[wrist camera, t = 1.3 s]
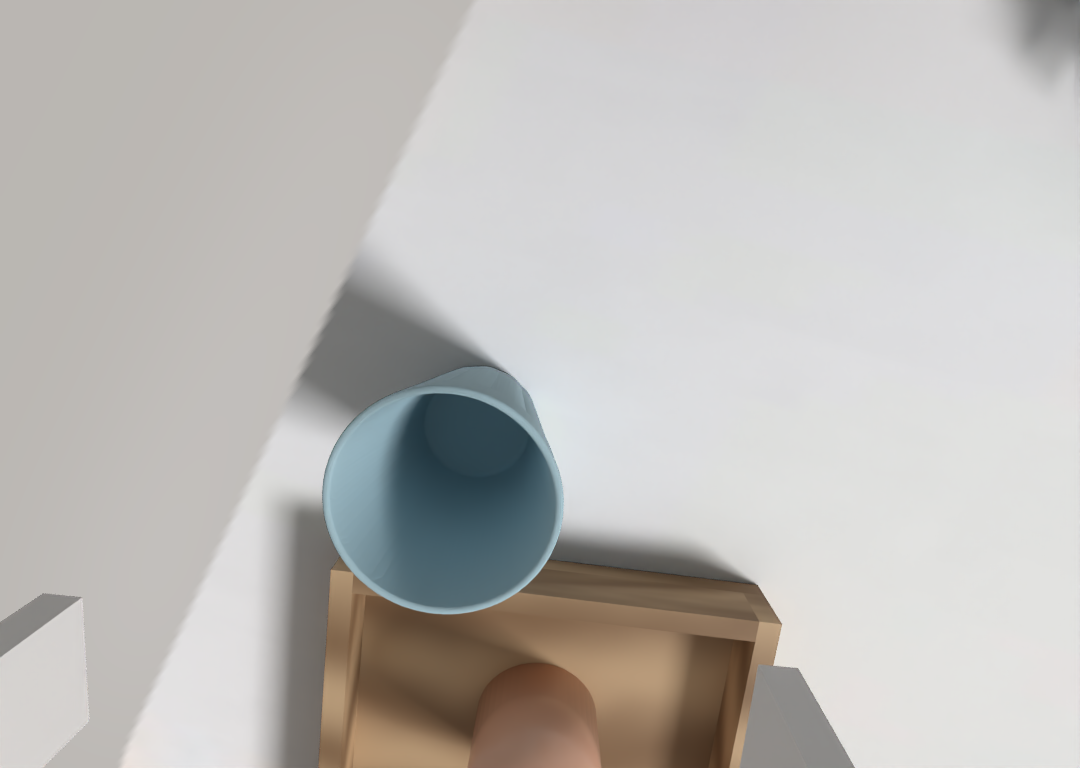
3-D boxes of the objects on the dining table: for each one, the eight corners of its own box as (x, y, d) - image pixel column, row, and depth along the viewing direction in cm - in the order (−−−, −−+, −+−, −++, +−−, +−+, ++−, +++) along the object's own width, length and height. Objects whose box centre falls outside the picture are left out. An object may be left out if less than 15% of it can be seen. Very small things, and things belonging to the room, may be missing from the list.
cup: (393, 492, 31) (318, 604, 21) (400, 335, 30) (323, 375, 20) (550, 506, 31) (550, 625, 21) (565, 350, 30) (572, 397, 20)
